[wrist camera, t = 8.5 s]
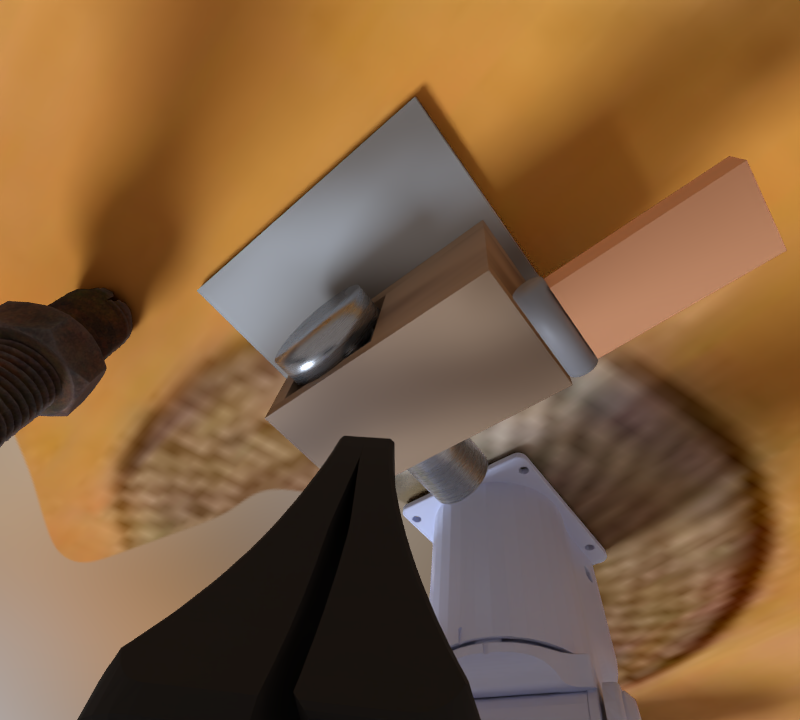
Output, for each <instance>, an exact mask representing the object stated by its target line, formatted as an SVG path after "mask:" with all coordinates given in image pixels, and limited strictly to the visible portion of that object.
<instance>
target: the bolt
mask: <svg viewBox="0 0 800 720" xmlns="http://www.w3.org/2000/svg"><path fill="white" fill-rule="evenodd" d="M113 296H114V295H113V292H111V291H109V290H107V289H105V288H101V289H100V288H95V289H89V290H88V289H77V290H74V291H72V292H70V293H67V294H66V295H65V296H63V297H61V298H60V299H58V300H56V301H55V302H53V303H52V304H49V305H48V306H46V305H41V304H35V303H29V302H14V301H7V302H6V303H4V304H2V305H0V447H1V446H2V445H3V443H4V442H5V441H8V440H9V438H11V436H13V435H15V434H16V433H17V432H18V431H19V430H20V429H22V428H23V427H25V426H26V425H27V424H29V423H30V422H31V421H33V419H35V418H36V417H38V416H68V415H69V414H70V413H71V412H72V411H73V410H74V409H76V408H77V407H78V406H79V405H80V404H81V403H82V402H83V401H84V400H85V399H86V398H87V397H88V395H89V394H90V393H91V392H92V391H93V389H94V388H95V387H96V385H97V384H98V383H99V381H100V380H101V378H102V377H103V375H104V373H105V371H106V365H105V362H104V360H105V359H106V358H107V357H108V356H110V355H111V354H112V352H114V351H116V350H117V349H118V348H119V347H120V346H121V345H122V344H124V343H125V341H126V340H127V339H128V338H129V337H130V334H131V331H132V326H133V325H132V315H131V312H130V309H129V308H128V306H127V305H126V303H122V302H121V301H120V300H118V301H114V302H113V301H112V300H108V299H110V298H111V297H113ZM106 300H107V301H106Z"/></svg>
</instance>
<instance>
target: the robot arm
mask: <svg viewBox="0 0 800 720" xmlns="http://www.w3.org/2000/svg"><path fill="white" fill-rule="evenodd" d="M521 467H527V468H526V469H520V468H521ZM403 515H404V516H405V517H406V518H407V519H408V520H409V521H410V522H411V523H412V524H413V525H414V526H415V527H416V528H417V529H418V530H419V531H420V532H421V533H423V534H424V535H425V536H426V537H427V538H428V539H429V540H430V541H431V542H432V543H433V554H432V570H431V586H430V587H431V588H430V601H429V598H428V596H427V594H426V591H425V589H424V586H423V584H422V581H421V579H420V576H419V573H418V570H417V568H416V565H415V562H414V559H413V556H412V553H411V550H410V547H409V543H408V540H407V537H406V533H405V529H404V525H403V522H402V518H401V514H400V509H399V504H398V499H397V494H396V488H395V442H394V441H392V440H391V439H389V438H373V437H358V436H343V437H342V438H340V440H339V441H338V443H337V445H336V446H335V448H334V449H333V451H332V452H331V454H330V455H329V457H328V458H327V460H326V461H325V463H324V464H323V465H322V467H321V468H320V470H319V471H318V472H317V474H316V475H315V476H314V478H313V479H312V480H311V482H310V483H309V484H308V486H307V487H306V488H305V489H304V491H303V492H302V493H301V495H300V496H299V497H298V498H297V500H296V501H295V502H294V503H293V504H292V505H291V506H290V508H289V509H288V510H287V511H286V512H285V513H284V515H283V516H282V517H281V518H280V519H279V520H278V521H277V522H276V524H275V525H274V526H273V527H272V528H271V529H270V530H269V531H268V532H267V533H266V534H265V535H264V536H263V537H262V538H261V539H260V540H259V541H258V542H257V543H256V544H255V545H254V546H253V547H252V548H251V549H250V550H249V551H248V552H247V553H246V554H245V555H243V556H242V557H241V558H240V559H239V560H238V561H237V562H236V563H235V564H233V565H232V566H231V567H230V568H229V569H228V570H227V571H226V572H224V573H223V574H222V575H221V576H220V577H219V578H217V580H215V581H214V582H213V583H211V584H210V585H209V586H208V587H206V588H205V589H204V590H202V591H201V592H200V593H198V594H197V595H196V596H195V597H193V598H192V599H191V600H190V601H188V602H187V603H186V604H184V605H183V606H182V607H180V608H179V609H178V610H177V611H175V612H174V613H172V614H171V615H169V616H168V617H167V618H165V619H164V620H162V621H161V622H159V623H158V624H156V625H155V626H153V627H152V628H150V629H149V630H147V631H146V632H144V633H143V634H141V635H140V636H138V637H137V638H135V639H134V640H133V641H131V642H129V643H128V644H126V645H125V646H123V647H122V648H121V649H120V650H119V652H118V653H117V655H116V657H115V658H114V659H113V661H112V662H111V664H110V665H109V666H108V668H107V669H106V671H105V672H104V674H103V676H102V677H101V679H100V680H99V682H98V684H97V686H96V687H95V689H94V691H93V693H92V695H91V696H90V698H89V700H88V702H87V704H86V705H85V707H84V709H83V711H82V712H81V714H80V716H79V718H78V719H77V720H642V719H641V716H640V712H639V709H638V706H637V703H636V700H635V699H634V698H633V697H631V696H630V695H629V694H628V693H627V692H625V691H622V689H621V687H620V685H619V684H618V683H617V682H618V666H617V660H616V656H615V652H614V648H613V644H612V640H611V636H610V632H609V628H608V624H607V620H606V617H605V613H604V609H603V605H602V601H601V597H600V593H599V589H598V585H597V581H596V577H595V573H594V569H593V565H594V564H597V563H600V562H603V561H605V560H606V558H607V554H606V551H605V549H604V548H603V547H602V545H601V544H600V543H599V542H598V541H597V539H596V538H595V537H594V536H593V535H592V534H591V532H590V531H589V530H588V529H587V528H586V526H585V525H584V524H583V523H582V522H581V520H580V519H579V518H578V517H577V516H576V514H575V513H574V512H573V511H572V510H571V508H570V507H569V506H568V505H567V504H566V503H565V501H564V500H563V499H562V498H561V497H560V495H559V494H558V493H557V492H556V491H555V489H554V488H553V487H552V486H551V485H550V483H549V482H548V481H547V480H546V479H545V478H544V476H543V475H542V474H541V473H540V472H539V470H538V469H537V468H536V467H535V466H534V464H533V463H532V462H531V461H530V460H529V458H528V457H527V456H526V455H525V454H523V453H514V454H511V455H509V456H507V457H505V458H503V459H501V460H499V461H497V462H494V463H492V464H490V465H488V469H487V473H486V476H485V478H484V480H483V481H482V483H481V484H480V486H479V487H478V488H477V489H476V490H475V491H474V492H473V493H472V494H471V495H470V496H468V497H467V498H465V499H464V500H462V501H460V502H457V503H454V504H443V503H440V502H439V501H438V500H437V499H436V498H435V497H434V496H433V495H432V494H431V493H429V494H427V495H425V496H423V497H421V498H419V499H416V500H414V501H412V502H410V503H408V504H406V505H405V506H404V508H403ZM415 516H419V517H415Z"/></svg>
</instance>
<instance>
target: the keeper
mask: <svg viewBox="0 0 800 720" xmlns="http://www.w3.org/2000/svg"><path fill="white" fill-rule="evenodd" d="M785 251H786V247H785V245H784V243H783V241H782V238H781V236H780V234H779V232H778V229H777V227H776V225H775V223H774V220H773V218H772V216H771V214H770V211H769V209H768V207H767V205H766V202H765V200H764V198H763V196H762V193H761V191H760V189H759V187H758V184H757V182H756V180H755V178H754V175H753V173H752V171H751V169H750V166H749V164H748V162H747V160H744V159H739V158H735V157H730V156H729V157H727V158H726V159H724V160H723V161H721V162H720V163H718V164H717V165H715V166H714V167H712V168H711V169H709V170H708V171H706V172H704V173H703V174H701V175H700V176H698V177H697V178H695V179H694V180H692V181H691V182H689V183H688V184H686V185H685V186H683V187H682V188H680V189H679V190H677V191H676V192H674V193H673V194H671V195H670V196H668V197H667V198H665V199H664V200H662V201H661V202H659V203H658V204H656V205H654V206H653V207H651V208H650V209H648V210H647V211H645V212H644V213H642V214H641V215H639V216H638V217H636V218H635V219H633V220H632V221H630V222H629V223H627V224H626V225H624V226H623V227H621V228H620V229H618V230H617V231H615V232H614V233H612V234H611V235H609V236H608V237H606V238H605V239H603V240H601V241H600V242H598V243H597V244H595V245H594V246H592V247H591V248H589V249H588V250H586V251H585V252H583V253H582V254H580V255H579V256H577V257H576V258H574V259H573V260H571V261H570V262H568V263H567V264H565V265H564V266H562V267H561V268H559V269H558V270H556V271H555V272H553V273H551V274H550V275H548V276H547V277H545V278H544V279H543V277H540V276H538V277H534V278H531V279H529V280H527V281H526V282H524V283H523V284H522V285H520V286H519V287H518V288H517V289H516V290H515V292H514V294H513V299H514V300H515V302H516V303H517V304H518V306H519V307H520V309H521V310H522V311H523V313H524V314H525V316H526V317H527V318H528V320H529V321H530V322H531V324H532V325H533V327H534V328H535V329H536V331H537V332H538V333H539V335H540V336H541V338H542V339H543V340H544V342H545V343H546V344H547V346H548V347H549V349H550V350H551V351H552V353H553V354H554V355H555V357H556V358H557V360H558V361H559V362H560V364H561V365H562V366H563V368H564V369H565V371H566V372H567V373H568V375H569V376H571V377H580V376H583V375H585V374H587V373H589V372H590V371H591V370H593V369H594V367H595V366H596V365H597V362H598V358H600V357H602V356H604V355H605V354H607V353H609V352H611V351H612V350H614V349H616V348H617V347H619V346H621V345H623V344H624V343H626V342H628V341H630V340H631V339H633V338H635V337H637V336H638V335H640V334H642V333H644V332H645V331H647V330H649V329H651V328H652V327H654V326H656V325H658V324H659V323H661V322H663V321H665V320H666V319H668V318H670V317H671V316H673V315H675V314H677V313H678V312H680V311H682V310H684V309H685V308H687V307H689V306H691V305H692V304H694V303H696V302H698V301H699V300H701V299H703V298H705V297H706V296H708V295H710V294H712V293H713V292H715V291H717V290H719V289H720V288H722V287H724V286H725V285H727V284H729V283H731V282H732V281H734V280H736V279H738V278H739V277H741V276H743V275H745V274H746V273H748V272H750V271H752V270H753V269H755V268H757V267H759V266H760V265H762V264H764V263H766V262H767V261H769V260H771V259H773V258H774V257H776V256H778V255H779V254H781V253H783V252H785ZM545 281H546V282H545Z"/></svg>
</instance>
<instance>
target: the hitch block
mask: <svg viewBox="0 0 800 720" xmlns="http://www.w3.org/2000/svg"><path fill="white" fill-rule="evenodd" d="M538 276H539V275H538V274H537V272H536V271H535V269H534V268H533V266H532V265H531V263H530V262H529V260H528V259H527V258H526V256H525V255H524V253H523V252H522V250H521V249H520V247H519V246H518V244H517V243H516V242H515V240H514V239H513V237H512V236H511V234H510V233H509V231H508V230H507V228H506V227H505V226H504V224H503V223H502V221H501V220H500V218H499V217H498V215H497V214H496V212H495V211H494V210H493V208H492V207H491V205H490V204H489V202H488V201H487V199H486V198H485V196H484V195H483V193H482V192H481V191H480V189H479V188H478V186H477V185H476V183H475V182H474V180H473V179H472V177H471V176H470V175H469V173H468V172H467V170H466V169H465V167H464V166H463V164H462V163H461V161H460V160H459V159H458V157H457V156H456V154H455V153H454V151H453V150H452V148H451V147H450V145H449V144H448V142H447V141H446V140H445V138H444V137H443V135H442V134H441V132H440V131H439V129H438V128H437V126H436V125H435V124H434V122H433V121H432V119H431V118H430V116H429V115H428V113H427V112H426V110H425V109H424V108H423V106H422V105H421V103H420V102H419V100H418V99H417V97H416V96H415V97H414V98H413V99H412V100H411V101H409V102H408V103H407V104H406V105H405V106H404V107H403V108H402V109H400V110H399V111H398V112H397V113H396V114H395V115H394V116H393V117H391V118H390V119H389V120H388V121H387V122H386V123H385V124H384V125H383V126H381V127H380V128H379V129H378V130H377V131H376V132H375V133H374V134H372V135H371V136H370V137H369V138H368V139H367V140H366V141H365V142H363V143H362V144H361V145H360V146H359V147H358V148H357V149H356V150H354V151H353V152H352V153H351V154H350V155H349V156H348V157H347V158H345V159H344V160H343V161H342V162H341V163H340V164H339V165H338V166H336V167H335V168H334V169H333V170H332V171H331V172H330V173H329V174H327V175H326V176H325V177H324V178H323V179H322V180H321V181H320V182H318V183H317V184H316V185H315V186H314V187H313V188H312V189H311V190H309V191H308V192H307V193H306V194H305V195H304V196H303V197H302V198H300V199H299V200H298V201H297V202H296V203H295V204H294V205H293V206H291V207H290V208H289V209H288V210H287V211H286V212H285V213H284V214H283V215H281V216H280V217H279V218H278V219H277V220H276V221H275V222H274V223H272V224H271V225H270V226H269V227H268V228H267V229H266V230H265V231H263V232H262V233H261V234H260V235H259V236H258V237H257V238H256V239H254V240H253V241H252V242H251V243H250V244H249V245H248V246H247V247H245V248H244V249H243V250H242V251H241V252H240V253H239V254H238V255H236V256H235V257H234V258H233V259H232V260H231V261H230V262H229V263H227V264H226V265H225V266H224V267H223V268H222V269H221V270H220V271H218V272H217V273H216V274H215V275H214V276H213V277H212V278H211V279H209V280H208V281H207V282H206V283H205V284H204V285H203V286H202V287H200V288H199V289H198V290H197V291H198V292H199V293H200V294H201V295H202V296H203V297H204V298H205V299H206V300H207V301H208V302H209V303H210V304H211V305H212V306H213V307H214V308H215V309H216V310H217V311H218V312H219V313H220V314H221V315H222V316H223V317H224V318H225V319H226V320H227V321H228V322H229V323H230V324H231V325H232V326H233V327H234V328H235V329H236V330H237V331H238V332H240V333H241V334H242V335H243V336H244V337H245V338H246V339H247V340H248V341H249V342H250V343H251V344H252V345H253V346H254V347H255V348H256V349H257V350H258V351H259V352H260V353H261V354H262V355H263V356H264V357H265V358H266V359H267V360H268V361H269V362H270V363H271V364H272V365H273V366H274V367H275V368H276V369H277V370H278V371H279V372H280V373H281V374H282V375H283V376H284V377H285V378H286V381H285V383H284V384H283V386H282V388H281V390H280V392H279V393H278V395H277V397H276V399H275V401H274V402H273V404H272V406H271V408H270V410H269V412H268V413H267V415H266V417H265V419H266V420H267V421H268V422H269V423H271V424H272V425H273V426H274V427H275V428H276V429H277V430H278V431H279V432H280V433H281V434H282V435H284V436H285V437H286V438H287V439H288V440H289V441H290V442H291V443H292V444H293V445H294V446H296V447H297V448H298V449H299V450H300V451H301V452H302V453H303V454H304V455H305V456H306V457H307V458H309V459H310V460H311V461H312V462H313V463H314V464H315V465H316V466H317V467H318V468H319V469H320V468H321V467H322V465H323V464H324V463H325V461H326V460H327V458H328V457H329V455H330V454H331V452H332V451H333V449H334V448H335V446H336V445H337V443H338V441H339V440H340V438H342V437H343V436H358V437H373V438H389V439H391V440H392V441H394V442H395V475H397V474H399V473H401V472H403V471H405V470H407V469H409V468H411V467H413V466H415V465H417V464H419V463H421V462H423V461H425V460H427V459H429V458H431V457H433V456H434V455H436V454H438V453H440V452H442V451H444V450H446V449H448V448H450V447H452V446H454V445H456V444H458V443H460V442H462V441H464V440H466V439H468V438H470V437H472V436H474V435H476V434H478V433H480V432H481V431H483V430H485V429H487V428H489V427H491V426H493V425H495V424H497V423H499V422H501V421H503V420H505V419H507V418H509V417H511V416H513V415H515V414H517V413H519V412H521V411H523V410H525V409H527V408H529V407H530V406H532V405H534V404H536V403H538V402H540V401H542V400H544V399H546V398H548V397H550V396H552V395H554V394H556V393H558V392H560V391H562V390H564V389H566V388H568V387H570V386H572V382H571V379H570V376H569V375H568V373H567V372H566V371H565V369H564V368H563V366H562V365H561V364H560V362H559V361H558V360H557V358H556V357H555V355H554V354H553V353H552V351H551V350H550V349H549V347H548V346H547V344H546V343H545V342H544V340H543V339H542V338H541V336H540V335H539V333H538V332H537V331H536V329H535V328H534V327H533V325H532V324H531V322H530V321H529V320H528V318H527V317H526V316H525V314H524V313H523V311H522V310H521V309H520V307H519V306H518V304H517V303H516V302H515V300H514V299H513V294H514V292H515V290H516V289H517V288H518V287H519V286H520V285H522V284H523V283H524V282H526V281H527V280H529V279H531V278H534V277H538ZM353 285H359V286H360V287H361V288H362V290H363V291H364V292H365V293H366V294H367V295H368V297H369V298H370V299H371V300H372V301H373V302H374V303H375V305H376V306H377V307H378V308H379V310H380V314H379V317H378V320H377V321H376V323H375V325H374V326H373V329H374V333H373V336H372V339H371V342H369V343H368V344H366V345H365V346H363V347H362V348H360V349H359V350H357V351H356V352H354V353H353V354H351V355H350V356H348V357H347V358H345V359H344V360H342V361H341V362H340V363H339V364H338V365H337V366H335V367H334V368H333V369H331V370H330V371H329V372H327V373H326V374H324V375H323V376H321V377H320V378H318V379H316V380H314V381H312V382H310V383H308V384H305V385H298V384H297V383H296V382H295V381H294V380H293V379H292V378H291V377H290V376H289V375H288V374H287V373H286V372H285V371H284V370H283V369H282V368H281V367H280V366H278V365H277V364H276V363H275V357H276V354H277V353H278V351H279V349H280V348H281V346H282V345H283V344H284V343H285V341H286V340H287V339H288V338H289V337H290V335H291V334H292V333H293V332H294V331H295V330H296V329H297V328H298V327H299V326H300V325H301V324H302V323H303V322H304V321H305V320H306V319H307V318H308V317H309V316H310V315H311V314H313V313H314V312H315V311H316V310H317V309H318V308H319V307H321V306H322V305H323V304H324V303H326V302H327V301H328V300H330V299H331V298H332V297H334V296H335V295H337V294H338V293H340V292H341V291H343V290H345V289H346V288H348V287H351V286H353Z"/></svg>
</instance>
